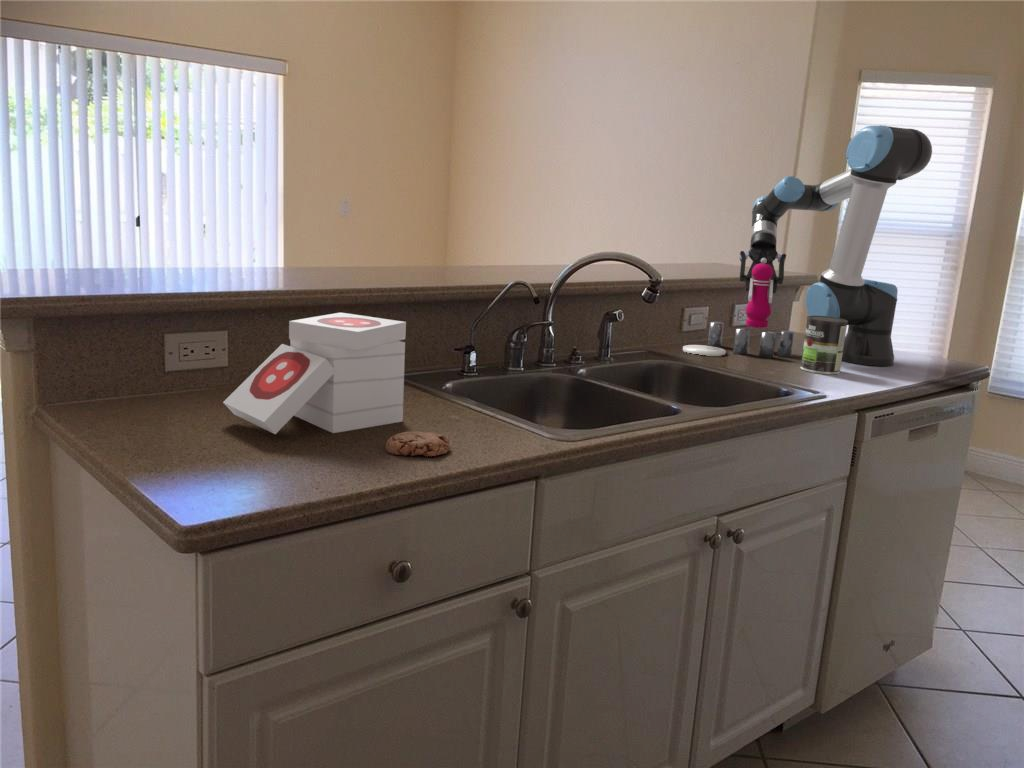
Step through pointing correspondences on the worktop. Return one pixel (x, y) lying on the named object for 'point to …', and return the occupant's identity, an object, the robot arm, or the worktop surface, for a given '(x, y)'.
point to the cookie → (418, 444)
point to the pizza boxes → (329, 376)
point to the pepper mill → (759, 296)
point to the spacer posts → (743, 341)
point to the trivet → (704, 350)
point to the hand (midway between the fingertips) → (760, 299)
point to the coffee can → (823, 345)
